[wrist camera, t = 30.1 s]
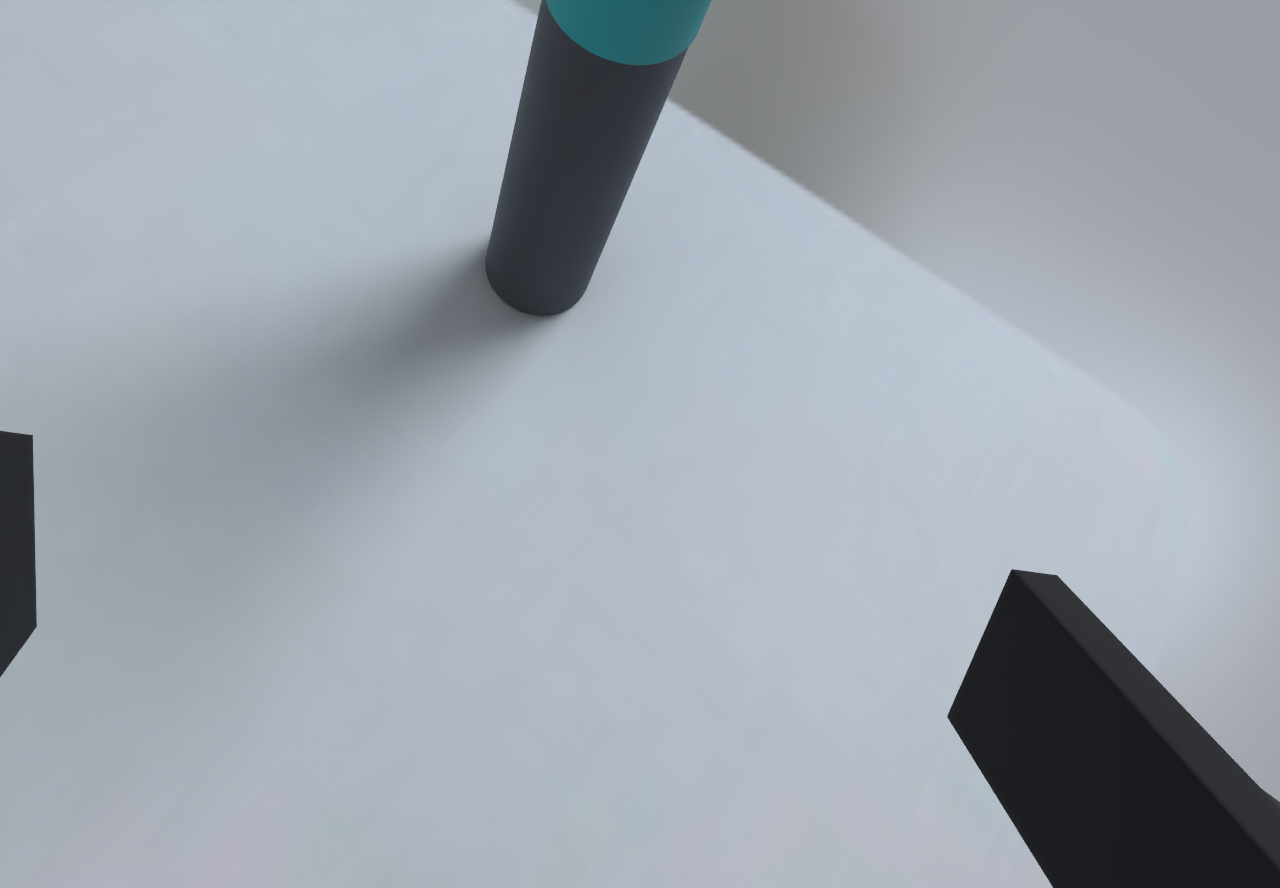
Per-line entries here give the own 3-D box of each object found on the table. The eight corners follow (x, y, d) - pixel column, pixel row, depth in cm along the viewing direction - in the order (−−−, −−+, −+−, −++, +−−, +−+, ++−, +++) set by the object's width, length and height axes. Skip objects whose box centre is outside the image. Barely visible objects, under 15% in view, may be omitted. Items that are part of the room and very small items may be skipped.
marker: (594, 234, 25) (766, -202, 14) (585, 326, 24) (764, -66, 13) (489, 213, 25) (586, -257, 14) (477, 307, 24) (570, -118, 13)
